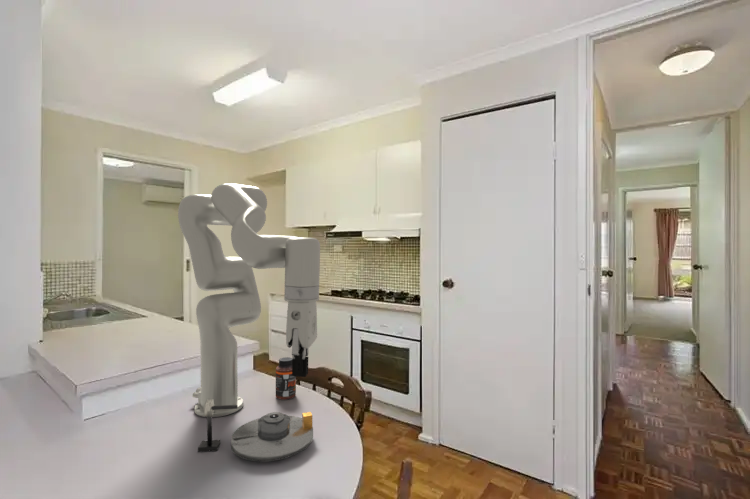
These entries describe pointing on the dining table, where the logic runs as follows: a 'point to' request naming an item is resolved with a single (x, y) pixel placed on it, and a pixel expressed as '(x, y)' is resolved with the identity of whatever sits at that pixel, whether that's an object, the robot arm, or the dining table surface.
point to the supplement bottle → (285, 379)
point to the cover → (273, 426)
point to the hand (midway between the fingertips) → (300, 375)
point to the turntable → (258, 449)
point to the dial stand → (208, 412)
